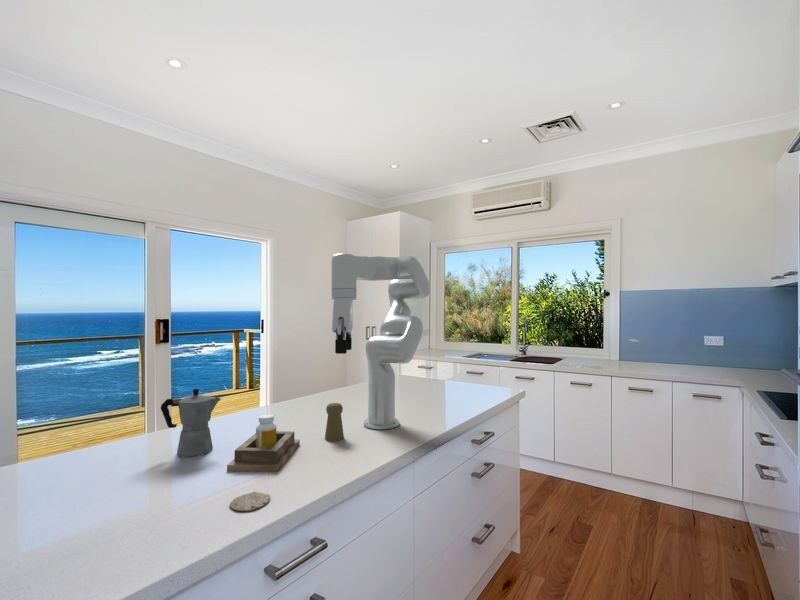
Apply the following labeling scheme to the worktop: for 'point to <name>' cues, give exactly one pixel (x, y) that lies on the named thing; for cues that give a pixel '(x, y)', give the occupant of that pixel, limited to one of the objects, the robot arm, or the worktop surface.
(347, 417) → the worktop surface
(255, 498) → the flatbread
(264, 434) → the supplement bottle
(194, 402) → the coffeepot
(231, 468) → the brown rectangular recessed tray
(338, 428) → the cork
